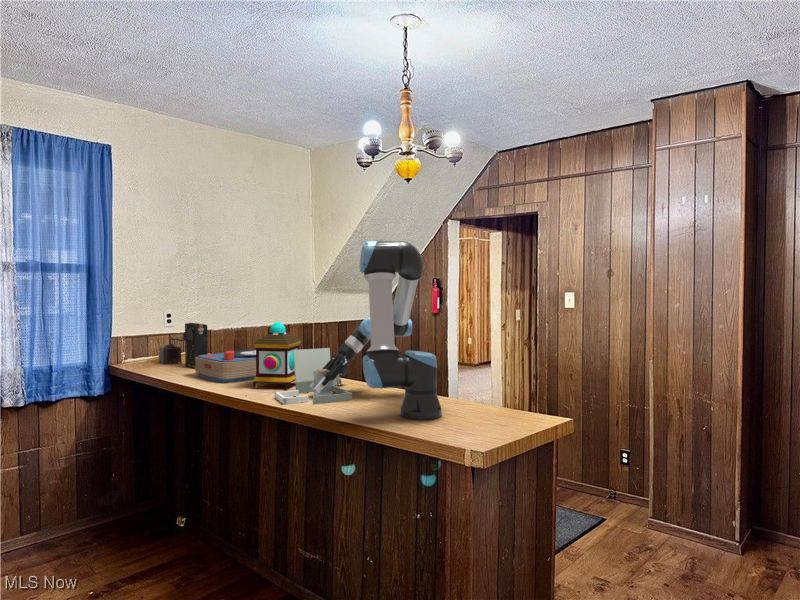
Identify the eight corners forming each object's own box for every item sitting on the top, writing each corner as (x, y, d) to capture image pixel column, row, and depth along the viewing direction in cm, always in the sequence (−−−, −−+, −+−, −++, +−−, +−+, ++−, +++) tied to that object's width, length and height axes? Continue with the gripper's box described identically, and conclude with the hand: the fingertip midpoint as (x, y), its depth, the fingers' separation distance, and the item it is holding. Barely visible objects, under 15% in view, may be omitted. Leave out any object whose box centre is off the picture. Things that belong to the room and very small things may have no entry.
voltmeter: (183, 366, 320) (182, 322, 320) (198, 364, 326) (197, 322, 326) (194, 369, 309) (194, 324, 308) (209, 367, 315) (209, 323, 314)
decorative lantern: (290, 390, 249) (290, 323, 248) (248, 389, 252) (248, 323, 251) (305, 383, 269) (305, 320, 268) (267, 381, 272) (266, 320, 271)
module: (331, 397, 235) (331, 370, 234) (318, 398, 232) (317, 371, 232) (327, 395, 240) (326, 368, 239) (313, 396, 237) (313, 369, 237)
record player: (263, 366, 321) (263, 340, 321) (300, 374, 296) (300, 345, 296) (189, 376, 290) (189, 347, 289) (224, 385, 265) (224, 353, 264)
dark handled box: (164, 364, 327) (163, 334, 327) (158, 362, 336) (157, 332, 335) (190, 362, 337) (190, 332, 337) (184, 360, 346) (184, 331, 345)
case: (354, 400, 230) (354, 354, 229) (313, 404, 222) (313, 357, 221) (330, 388, 254) (330, 347, 253) (293, 392, 246) (293, 349, 245)
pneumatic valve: (342, 387, 258) (342, 361, 257) (322, 384, 264) (322, 359, 263) (349, 385, 263) (349, 359, 262) (329, 382, 269) (329, 358, 268)
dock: (308, 402, 226) (308, 395, 226) (284, 404, 221) (284, 398, 221) (298, 395, 238) (298, 389, 238) (274, 398, 234) (274, 392, 233)
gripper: (364, 356, 234) (327, 399, 227) (348, 351, 251) (313, 391, 244) (353, 344, 232) (315, 387, 224) (336, 340, 248) (301, 380, 241)
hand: (314, 389), depth 234 cm, fingers closed on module, 5 cm apart
